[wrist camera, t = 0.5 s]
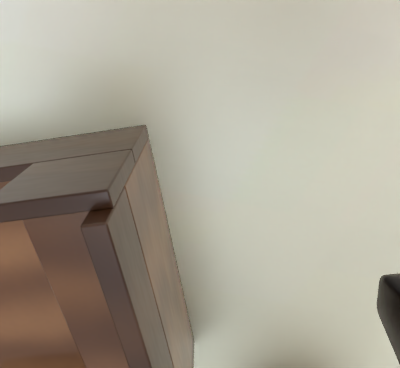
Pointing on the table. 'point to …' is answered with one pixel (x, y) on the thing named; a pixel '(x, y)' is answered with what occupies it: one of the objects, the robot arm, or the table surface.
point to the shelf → (88, 257)
